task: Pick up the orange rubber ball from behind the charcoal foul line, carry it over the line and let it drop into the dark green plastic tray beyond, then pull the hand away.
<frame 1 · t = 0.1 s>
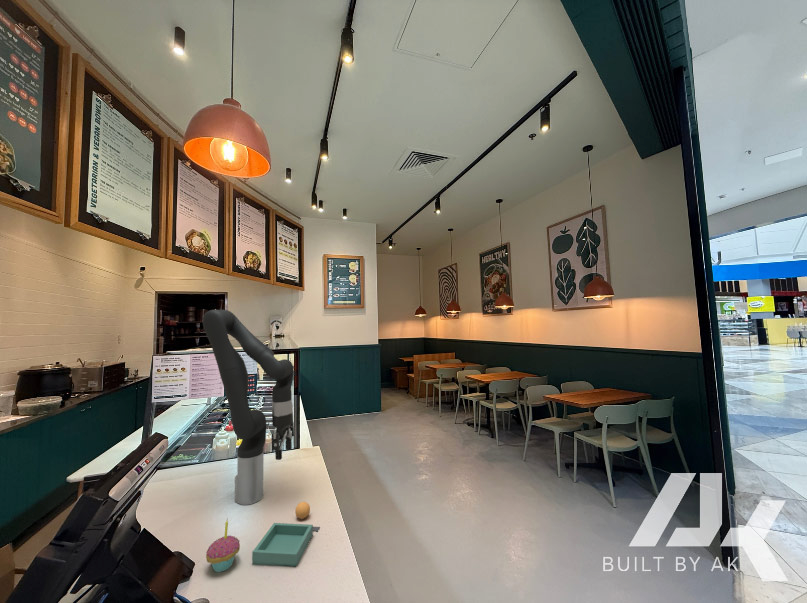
hand: (283, 454, 127), 17 cm above the counter, tool pointing down, fingers open, 8 cm apart
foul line: (297, 528, 109), on the counter
cupcake: (223, 566, 94), on the counter
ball: (302, 510, 115), point 2 cm above the counter
tray: (284, 549, 100), on the counter
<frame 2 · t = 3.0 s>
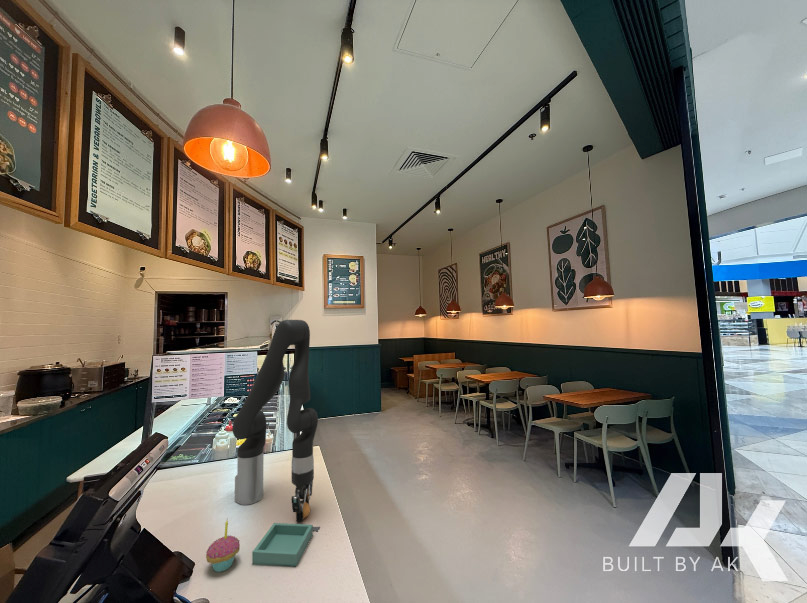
hand: (302, 516, 115), 0 cm above the counter, tool pointing down, fingers closed on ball, 5 cm apart
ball: (302, 510, 115), point 2 cm above the counter, touching gripper
everything else where it was.
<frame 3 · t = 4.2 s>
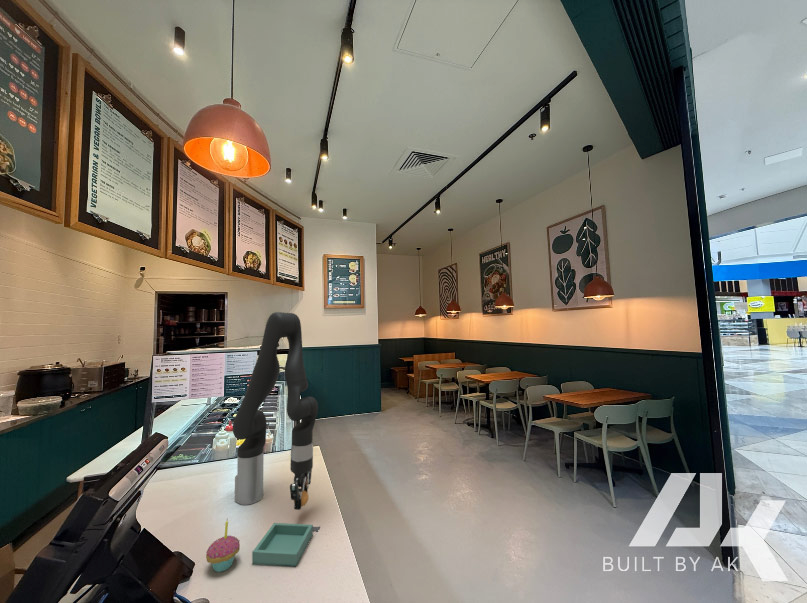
hand: (301, 504, 115), 5 cm above the counter, tool pointing down, fingers closed on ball, 5 cm apart
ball: (301, 498, 115), point 7 cm above the counter, touching gripper
everything else where it was.
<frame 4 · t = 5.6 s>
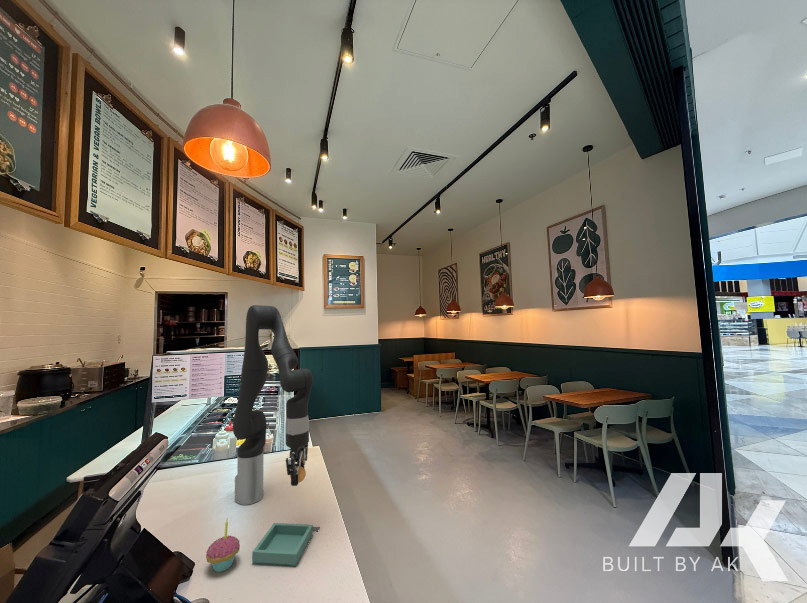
hand: (297, 480, 110), 16 cm above the counter, tool pointing down, fingers closed on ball, 5 cm apart
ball: (297, 474, 110), point 18 cm above the counter, touching gripper
everything else where it was.
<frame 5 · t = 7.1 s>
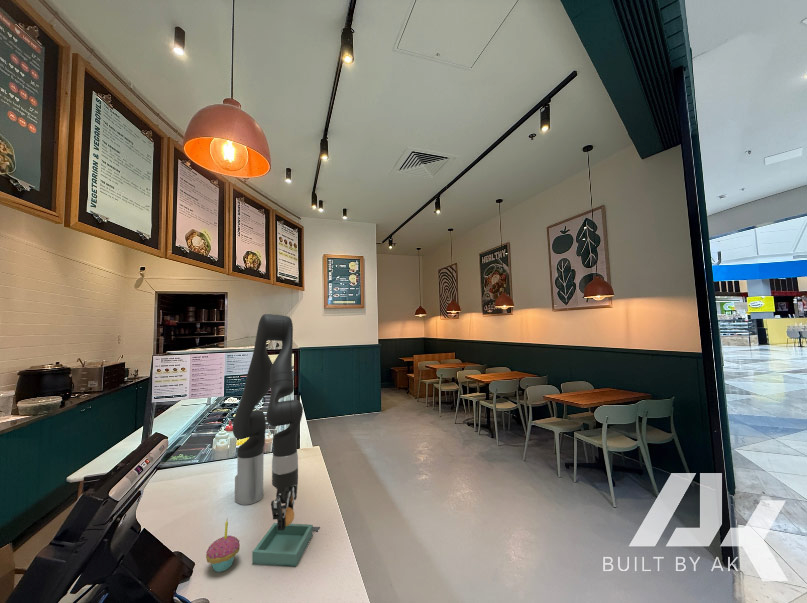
hand: (285, 523, 100), 8 cm above the counter, tool pointing down, fingers closed on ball, 5 cm apart
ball: (285, 516, 100), point 10 cm above the counter, touching gripper
everything else where it was.
when the fingers open (4 cm above the counter, at t = 8.4 s): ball drops 3 cm, resting on tray.
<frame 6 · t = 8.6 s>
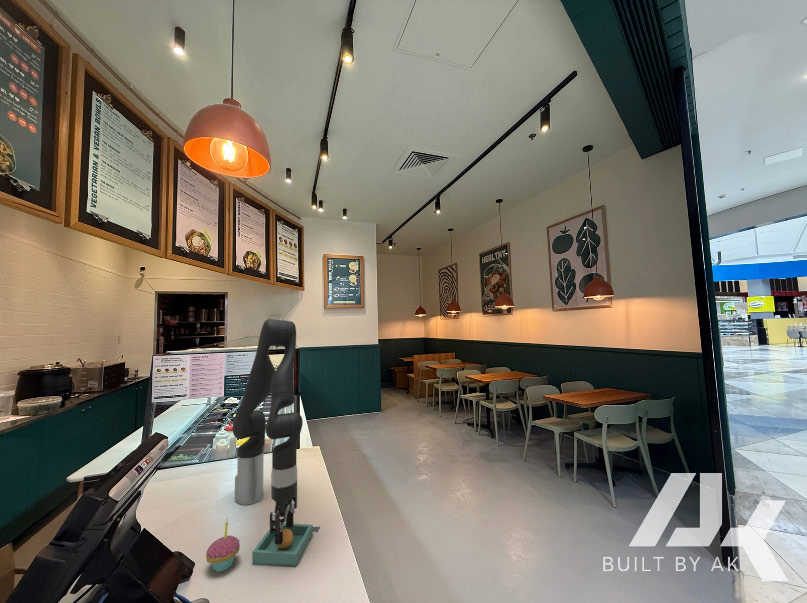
hand: (284, 534, 100), 4 cm above the counter, tool pointing down, fingers open, 7 cm apart
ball: (284, 538, 100), point 3 cm above the counter, touching tray
everything else where it was.
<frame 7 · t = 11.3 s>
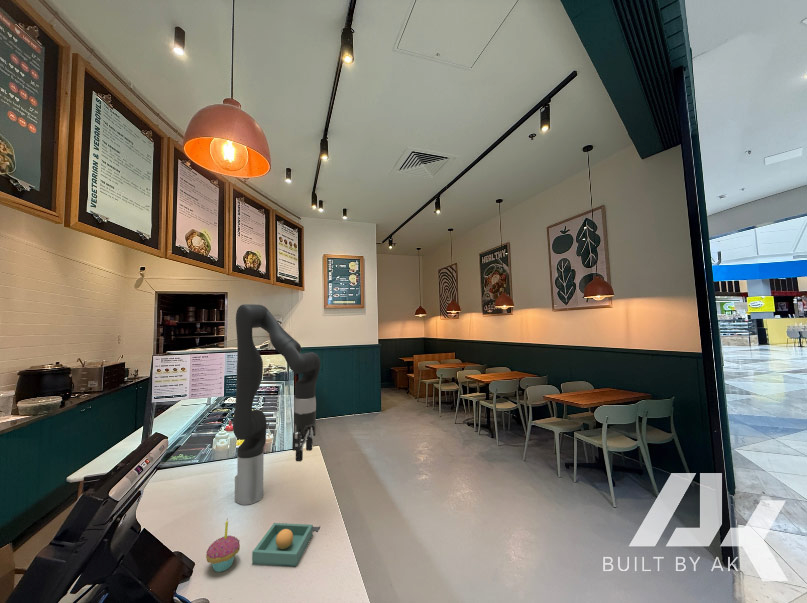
hand: (304, 455, 116), 21 cm above the counter, tool pointing down, fingers open, 8 cm apart
nothing on the counter moved.
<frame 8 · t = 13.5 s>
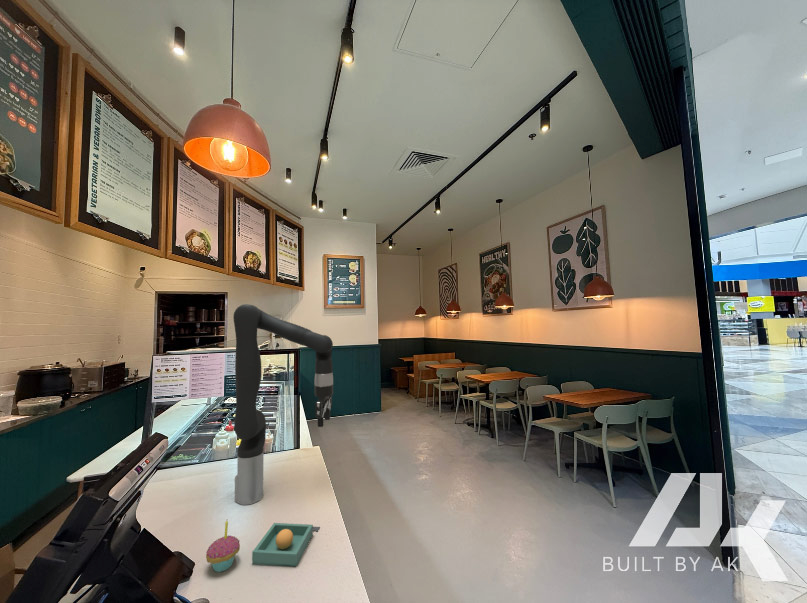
hand: (324, 423, 136), 26 cm above the counter, tool pointing down, fingers open, 8 cm apart
nothing on the counter moved.
at the end: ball inside the target area on the tray (0.1 cm from its centre), point 3.1 cm above the tray's base; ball inside the target area (0.3 cm from its centre), point 3.1 cm above the counter; the gripper is holding nothing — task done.
